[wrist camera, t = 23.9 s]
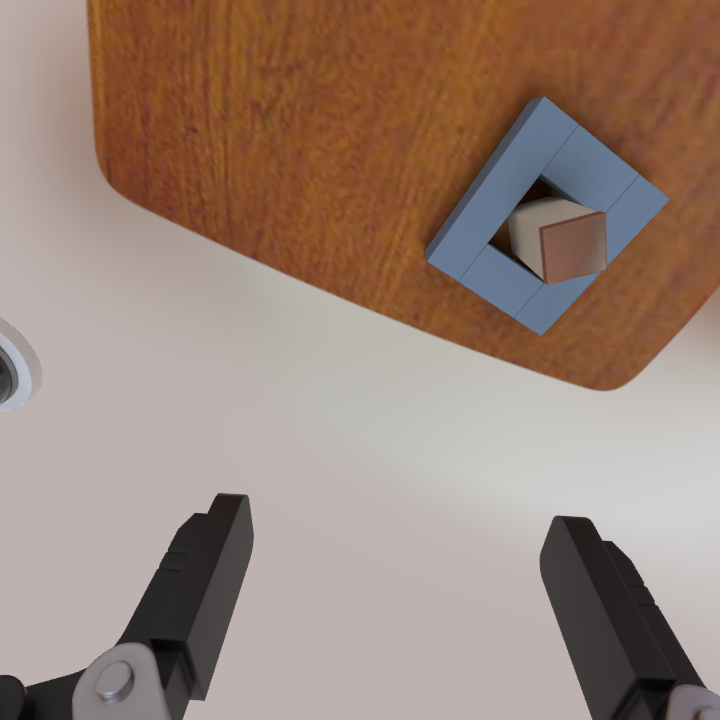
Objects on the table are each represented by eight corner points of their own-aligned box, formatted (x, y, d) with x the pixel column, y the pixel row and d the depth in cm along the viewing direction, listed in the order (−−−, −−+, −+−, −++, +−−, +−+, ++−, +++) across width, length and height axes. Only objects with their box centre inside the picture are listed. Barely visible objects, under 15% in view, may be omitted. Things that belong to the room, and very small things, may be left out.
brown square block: (510, 252, 35) (547, 285, 27) (505, 207, 33) (542, 229, 25) (556, 240, 34) (607, 270, 26) (553, 194, 33) (606, 212, 25)
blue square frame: (530, 322, 38) (541, 336, 35) (423, 252, 35) (426, 261, 33) (647, 193, 32) (670, 199, 30) (530, 99, 30) (544, 95, 27)
